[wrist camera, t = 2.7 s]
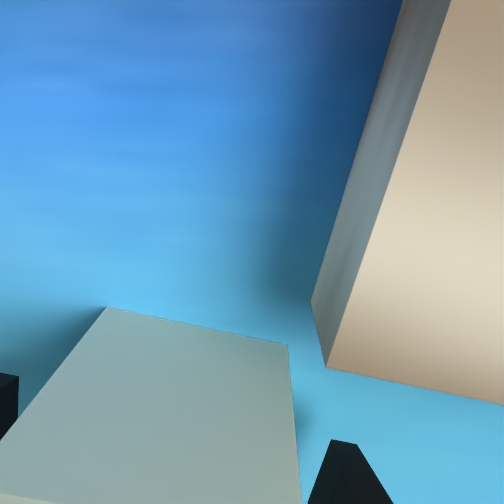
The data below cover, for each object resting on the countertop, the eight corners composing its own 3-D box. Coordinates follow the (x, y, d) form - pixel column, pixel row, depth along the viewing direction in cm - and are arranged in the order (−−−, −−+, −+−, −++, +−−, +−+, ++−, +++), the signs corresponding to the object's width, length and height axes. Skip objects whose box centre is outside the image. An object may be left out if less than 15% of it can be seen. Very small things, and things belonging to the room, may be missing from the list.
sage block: (248, 476, 12) (236, 728, 7) (91, 445, 11) (-31, 683, 7) (287, 343, 10) (306, 551, 5) (107, 305, 10) (-36, 486, 5)
